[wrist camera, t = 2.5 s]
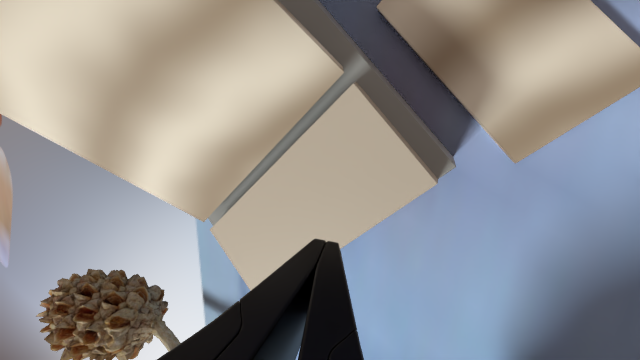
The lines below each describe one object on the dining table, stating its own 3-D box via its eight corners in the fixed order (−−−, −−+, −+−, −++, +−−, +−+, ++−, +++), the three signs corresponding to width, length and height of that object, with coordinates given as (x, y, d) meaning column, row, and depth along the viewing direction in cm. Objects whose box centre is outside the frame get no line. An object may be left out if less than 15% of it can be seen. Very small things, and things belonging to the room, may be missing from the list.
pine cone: (119, 300, 39) (24, 349, 30) (116, 241, 37) (11, 276, 28) (235, 375, 31) (150, 474, 22) (240, 305, 28) (147, 385, 20)
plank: (647, 76, 14) (664, 71, 12) (511, 161, 17) (515, 163, 16) (475, -91, 15) (477, -108, 14) (380, 13, 18) (376, 6, 17)
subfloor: (453, 156, 17) (456, 170, 12) (296, 266, 24) (250, 308, 19) (262, -65, 20) (191, -141, 15) (171, 89, 27) (98, 79, 22)
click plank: (342, 66, 14) (343, 72, 13) (209, 210, 20) (203, 222, 19) (65, -220, 9) (33, -245, 8) (-1, 93, 15) (-24, 101, 14)
